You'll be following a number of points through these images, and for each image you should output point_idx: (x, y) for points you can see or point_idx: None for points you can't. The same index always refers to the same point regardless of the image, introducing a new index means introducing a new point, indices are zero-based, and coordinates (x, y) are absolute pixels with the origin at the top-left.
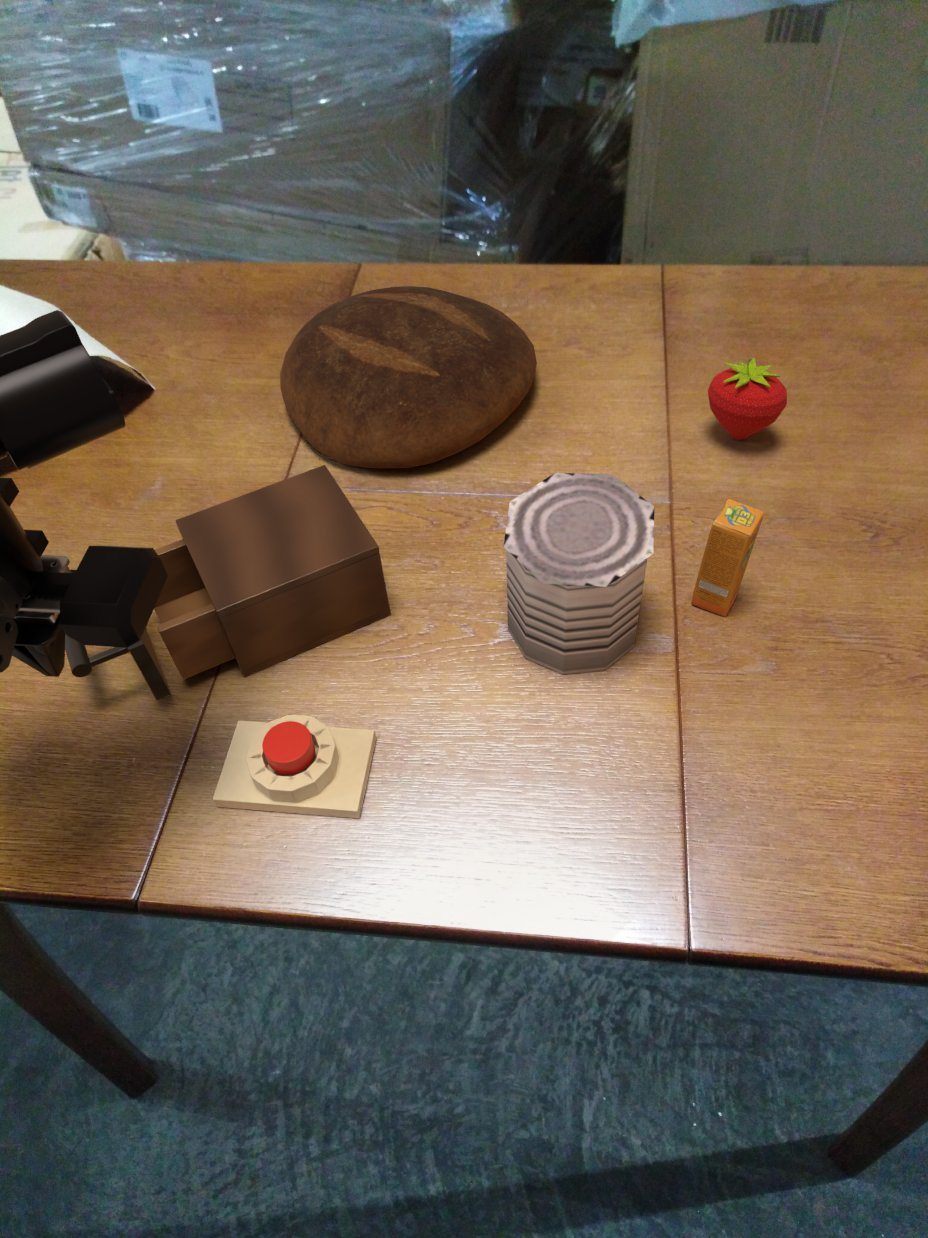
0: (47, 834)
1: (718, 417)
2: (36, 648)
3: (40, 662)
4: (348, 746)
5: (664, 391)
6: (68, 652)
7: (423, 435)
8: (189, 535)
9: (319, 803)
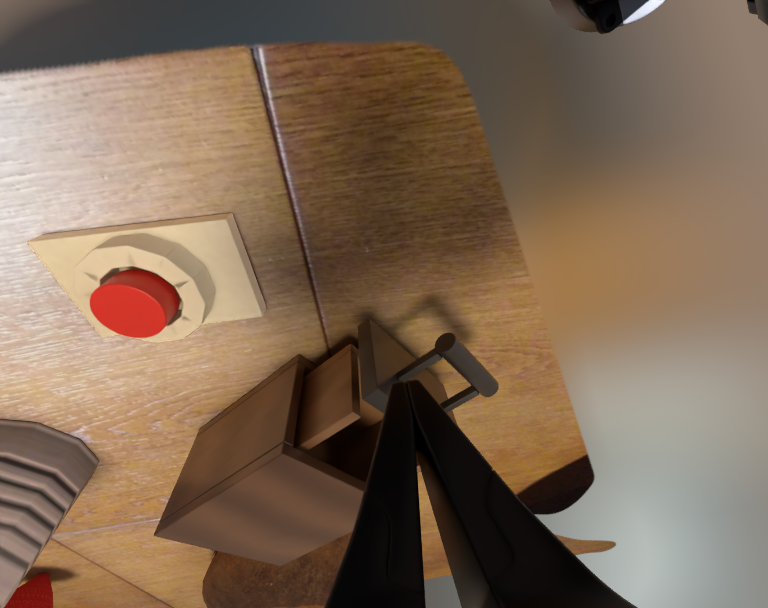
0: (430, 129)
1: (33, 603)
2: (378, 547)
3: (406, 441)
4: None
5: (128, 581)
6: (468, 359)
7: (247, 560)
8: None
9: (82, 242)
